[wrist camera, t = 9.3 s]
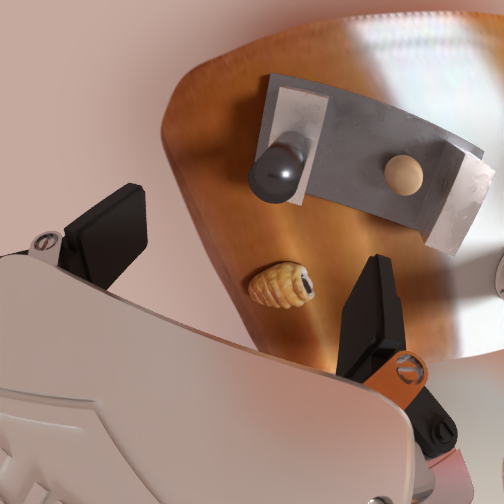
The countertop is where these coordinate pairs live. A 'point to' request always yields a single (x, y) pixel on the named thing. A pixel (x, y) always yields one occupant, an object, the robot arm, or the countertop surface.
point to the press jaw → (289, 147)
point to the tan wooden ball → (403, 175)
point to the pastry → (282, 286)
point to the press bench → (378, 155)
